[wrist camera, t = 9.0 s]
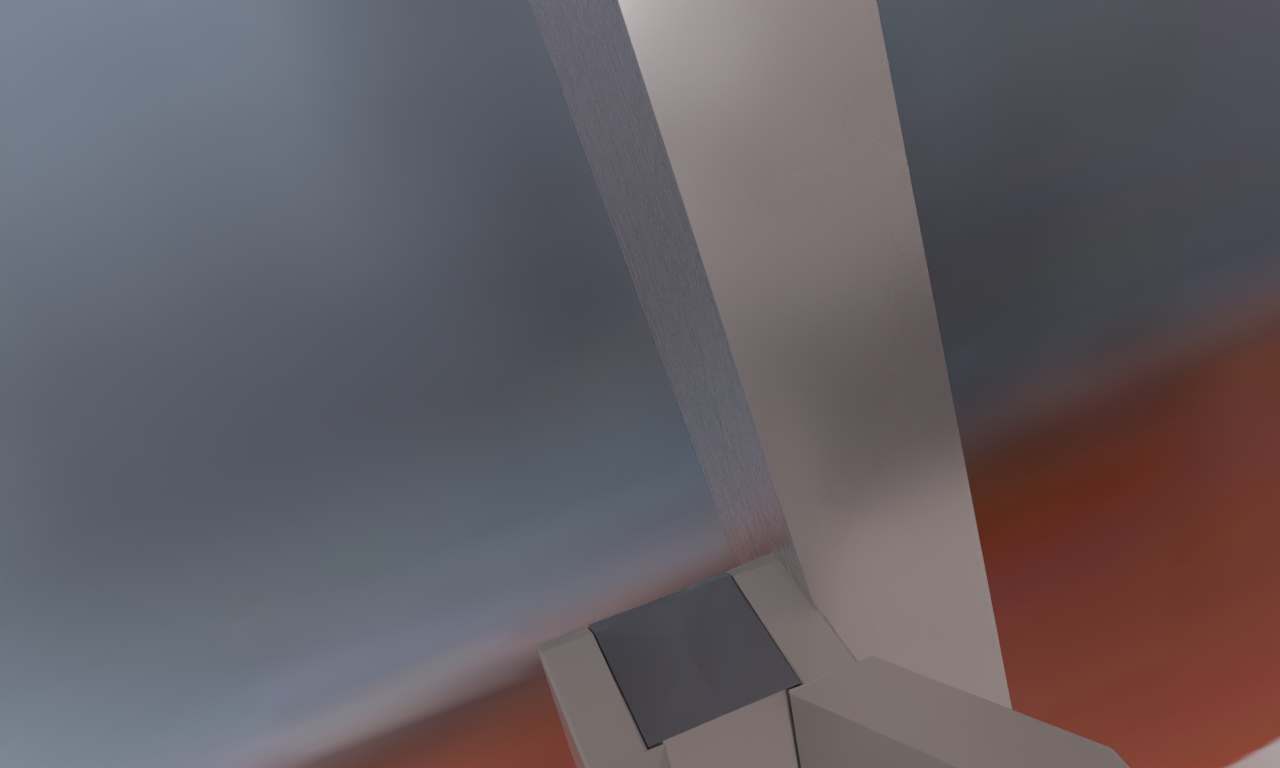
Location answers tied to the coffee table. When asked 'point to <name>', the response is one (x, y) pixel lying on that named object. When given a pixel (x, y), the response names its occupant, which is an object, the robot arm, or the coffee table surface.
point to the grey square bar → (791, 302)
